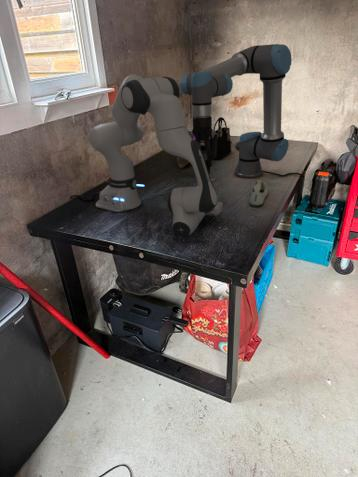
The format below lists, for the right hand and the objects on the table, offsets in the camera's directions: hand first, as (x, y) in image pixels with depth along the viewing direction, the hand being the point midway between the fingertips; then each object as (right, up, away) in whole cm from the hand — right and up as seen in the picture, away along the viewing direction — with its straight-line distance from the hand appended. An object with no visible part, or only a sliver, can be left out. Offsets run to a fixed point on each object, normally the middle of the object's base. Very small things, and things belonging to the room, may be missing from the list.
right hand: (203, 173), depth 139 cm
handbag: (+18, +29, +84) cm, 91 cm away
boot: (-6, +22, +75) cm, 78 cm away
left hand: (+1, -10, +7) cm, 12 cm away
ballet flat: (+29, -7, +21) cm, 36 cm away
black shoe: (+46, +40, +100) cm, 118 cm away
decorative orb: (-2, +33, +94) cm, 100 cm away
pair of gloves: (+12, +44, +112) cm, 121 cm away
